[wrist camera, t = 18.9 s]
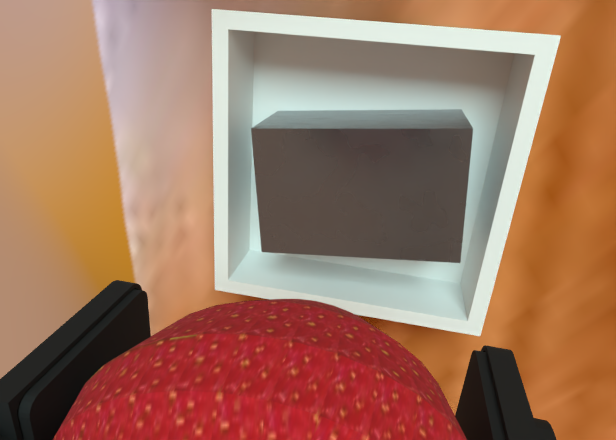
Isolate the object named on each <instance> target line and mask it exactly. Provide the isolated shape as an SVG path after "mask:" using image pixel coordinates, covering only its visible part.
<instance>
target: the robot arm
mask: <svg viewBox="0 0 616 440" xmlns="http://www.w3.org/2000/svg"><path fill="white" fill-rule="evenodd" d="M149 337H151V335H150V323H149V311H148V298H147V293H146V292H145V291H142V288H141V286H140V285H139V284H136V283H130V282H124V281H119V280H116V281H113V282H112V283H111V284H109V285H108V286H107V287H106V288H105V289H104V290H103V291H101V292H100V293H99V294H98V295H97V296H96V297H95V298H94V299H92V300H91V301H90V302H89V303H88V304H86V305H85V306H84V307H83V308H82V309H81V310H80V311H78V312H77V313H76V314H75V315H74V316H73V317H71V318H70V319H69V320H68V321H67V322H66V323H65V324H63V326H61V327H60V328H59V329H58V330H56V331H55V332H54V333H53V334H52V335H51V336H50V337H48V339H46V340H45V341H44V342H43V343H41V344H40V345H39V346H38V347H37V348H36V349H35V350H33V351H32V352H31V353H30V354H29V355H28V356H27V357H25V358H24V359H23V360H22V361H21V362H20V363H18V364H17V365H16V366H15V367H14V368H13V369H12V370H10V371H9V372H8V373H7V374H6V375H5V376H4V377H2V378H1V379H0V440H53V438H54V436H55V435H56V433H57V431H58V429H59V428H60V426H61V424H62V423H63V421H64V419H65V417H66V416H67V414H68V412H69V411H70V409H71V407H72V405H73V404H74V402H75V400H76V399H77V397H78V395H79V393H80V392H81V390H82V388H83V387H84V385H85V383H86V382H87V381H88V380H89V379H90V378H91V377H92V376H93V375H94V374H95V373H96V372H97V371H98V370H99V369H100V368H101V367H102V366H103V365H104V364H106V363H108V362H109V361H111V360H113V359H114V358H116V357H118V356H119V355H121V354H123V353H124V352H126V351H128V350H129V349H131V348H133V347H134V346H136V345H138V344H139V343H141V342H143V341H144V340H146V339H148V338H149ZM455 417H456V419H457V421H458V423H459V425H460V427H461V429H462V431H463V433H464V435H465V437H466V439H467V440H556V437H555V434H554V431H553V429H552V427H551V425H550V424H549V423H548V422H547V421H546V420H541V419H536V418H533V415H532V412H531V409H530V405H529V402H528V399H527V396H526V393H525V390H524V386H523V383H522V380H521V377H520V374H519V370H518V367H517V364H516V361H515V358H514V354H513V352H512V351H511V350H508V349H502V348H496V347H491V346H483V348H482V350H481V351H475V350H474V351H473V352H472V355H471V358H470V362H469V366H468V370H467V374H466V377H465V381H464V385H463V389H462V392H461V396H460V400H459V404H458V407H457V411H456V415H455Z"/></svg>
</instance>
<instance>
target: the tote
mask: <svg viewBox="0 0 616 440" xmlns="http://www.w3.org/2000/svg"><path fill="white" fill-rule="evenodd" d="M560 37H561V36H558V35H545V34H532V33H519V32H506V31H493V30H480V29H467V28H454V27H441V26H428V25H414V24H401V23H388V22H375V21H362V20H349V19H336V18H323V17H310V16H297V15H284V14H271V13H258V12H245V11H232V10H219V9H212V83H213V168H214V254H215V290H219V291H224V292H230V293H236V294H242V295H247V296H253V297H259V298H264V299H270V300H271V299H305V300H312V301H318V302H322V303H326V304H330V305H334V306H336V307H339V308H341V309H344V310H346V311H349V312H351V313H353V314H356V315H362V316H367V317H373V318H379V319H384V320H390V321H396V322H402V323H407V324H413V325H419V326H424V327H430V328H436V329H442V330H447V331H453V332H459V333H464V334H470V335H476V336H480V335H481V332H482V328H483V324H484V320H485V317H486V313H487V309H488V305H489V302H490V298H491V294H492V291H493V287H494V283H495V279H496V276H497V272H498V268H499V264H500V261H501V257H502V253H503V250H504V246H505V242H506V238H507V235H508V231H509V227H510V224H511V220H512V216H513V212H514V209H515V205H516V201H517V197H518V194H519V190H520V186H521V183H522V179H523V175H524V171H525V168H526V164H527V160H528V157H529V153H530V149H531V145H532V142H533V138H534V134H535V130H536V127H537V123H538V119H539V116H540V112H541V108H542V104H543V101H544V97H545V93H546V89H547V86H548V82H549V78H550V75H551V71H552V67H553V63H554V60H555V56H556V52H557V49H558V45H559V41H560ZM448 109H462V111H463V113H464V114H465V116H466V117H467V119H468V121H469V122H470V124H471V126H472V127H473V137H472V147H471V158H470V168H469V179H468V189H467V199H466V210H465V220H464V231H463V241H462V252H461V262H460V263H449V262H431V261H413V260H395V259H377V258H359V257H341V256H323V255H305V254H287V253H269V252H262V251H261V239H260V228H259V216H258V205H257V193H256V182H255V170H254V158H253V147H252V135H251V128H252V127H254V126H255V125H257V124H259V123H260V122H262V121H263V120H265V119H266V118H268V117H269V116H271V115H272V114H274V113H275V112H277V111H311V110H448Z"/></svg>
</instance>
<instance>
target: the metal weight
mask: <svg viewBox="0 0 616 440" xmlns="http://www.w3.org/2000/svg"><path fill="white" fill-rule="evenodd" d="M251 135H252V147H253V158H254V170H255V182H256V193H257V205H258V216H259V228H260V239H261V251H262V252H269V253H287V254H305V255H323V256H341V257H359V258H377V259H395V260H413V261H431V262H449V263H460V262H461V252H462V241H463V231H464V220H465V210H466V199H467V189H468V179H469V168H470V158H471V147H472V137H473V127H472V126H471V124H470V122H469V121H468V119H467V117H466V116H465V114H464V113H463V111H462V109H448V110H311V111H277V112H275V113H274V114H272V115H271V116H269V117H268V118H266V119H265V120H263V121H262V122H260V123H259V124H257V125H255V126H254V127H252V128H251Z"/></svg>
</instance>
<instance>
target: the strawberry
mask: <svg viewBox="0 0 616 440" xmlns="http://www.w3.org/2000/svg"><path fill="white" fill-rule="evenodd" d="M53 440H467V439H466V437H465V435H464V433H463V431H462V429H461V427H460V425H459V423H458V421H457V419H456V417H455V415H454V413H453V411H452V410H451V408H450V406H449V404H448V402H447V400H446V398H445V396H444V394H443V392H442V390H441V388H440V386H439V384H438V383H437V381H436V380H435V379H434V378H433V376H432V375H431V374H430V372H429V371H428V370H427V369H426V367H425V366H424V365H423V363H422V362H421V361H420V360H418V359H417V358H416V357H415V356H414V355H413V354H411V353H410V352H409V351H408V350H407V349H406V348H404V347H403V346H402V345H401V344H400V343H398V342H397V341H395V340H394V339H392V338H391V337H389V336H388V335H386V334H385V333H383V332H382V331H380V330H379V329H377V328H375V327H374V326H372V325H371V324H369V323H368V322H366V321H365V320H363V319H361V318H360V317H358V316H356V315H355V314H353V313H351V312H349V311H346V310H344V309H341V308H339V307H336V306H334V305H330V304H326V303H322V302H318V301H312V300H305V299H271V300H255V301H242V302H236V303H229V304H223V305H216V306H212V307H209V308H206V309H203V310H200V311H197V312H194V313H191V314H189V315H187V316H185V317H184V318H182V319H180V320H178V321H177V322H175V323H173V324H171V325H170V326H168V327H166V328H165V329H163V330H161V331H160V332H158V333H156V334H154V335H153V336H151V337H149V338H148V339H146V340H144V341H143V342H141V343H139V344H138V345H136V346H134V347H133V348H131V349H129V350H128V351H126V352H124V353H123V354H121V355H119V356H118V357H116V358H114V359H113V360H111V361H109V362H108V363H106V364H104V365H103V366H102V367H101V368H100V369H99V370H98V371H97V372H96V373H95V374H94V375H93V376H92V377H91V378H90V379H89V380H88V381H87V382H86V383H85V385H84V387H83V388H82V390H81V392H80V393H79V395H78V397H77V399H76V400H75V402H74V404H73V405H72V407H71V409H70V411H69V412H68V414H67V416H66V417H65V419H64V421H63V423H62V424H61V426H60V428H59V429H58V431H57V433H56V435H55V436H54V438H53Z"/></svg>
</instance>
